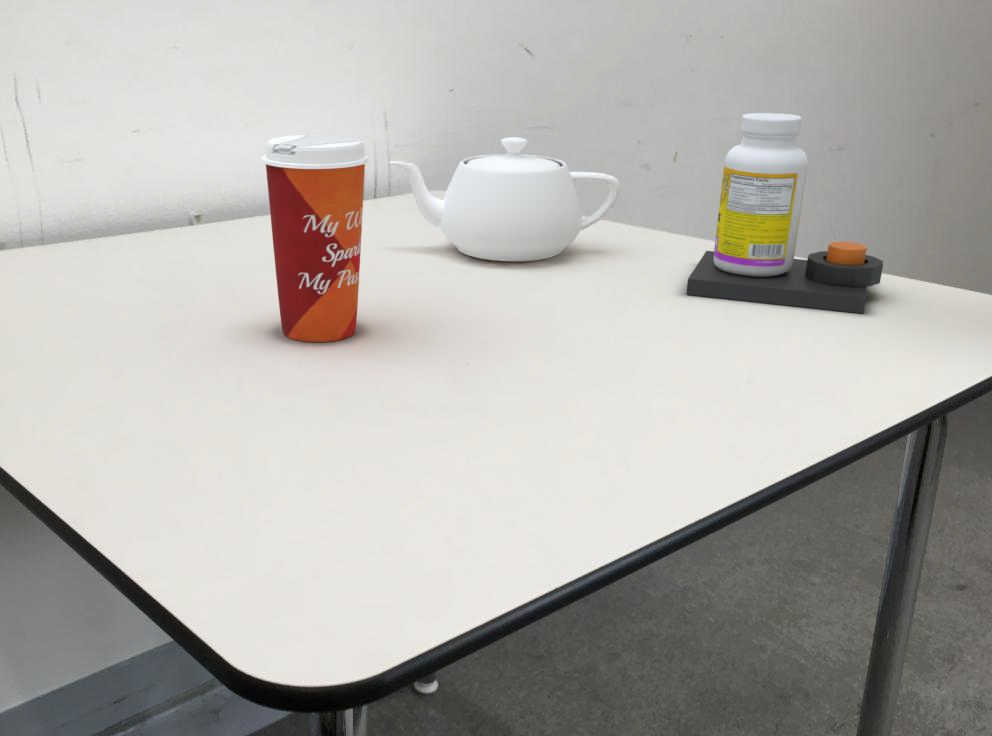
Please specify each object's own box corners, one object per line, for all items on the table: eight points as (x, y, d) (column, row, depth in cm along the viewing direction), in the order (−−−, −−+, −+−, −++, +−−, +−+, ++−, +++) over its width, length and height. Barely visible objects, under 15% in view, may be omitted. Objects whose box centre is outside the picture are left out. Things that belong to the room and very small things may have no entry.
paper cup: (324, 353, 78) (320, 152, 72) (246, 333, 82) (237, 141, 76) (391, 328, 83) (392, 139, 78) (315, 310, 88) (311, 130, 82)
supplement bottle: (737, 256, 99) (757, 109, 94) (805, 269, 95) (830, 116, 90) (696, 268, 95) (714, 115, 90) (766, 283, 91) (789, 123, 85)
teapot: (604, 237, 112) (613, 129, 108) (626, 270, 100) (637, 150, 95) (390, 234, 113) (391, 127, 109) (385, 267, 100) (386, 147, 96)
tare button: (864, 261, 93) (867, 243, 92) (863, 269, 90) (866, 251, 90) (826, 258, 94) (829, 240, 93) (824, 265, 91) (827, 247, 91)
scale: (877, 282, 97) (883, 248, 95) (876, 315, 87) (883, 278, 86) (704, 265, 102) (708, 233, 101) (685, 294, 93) (690, 259, 91)
